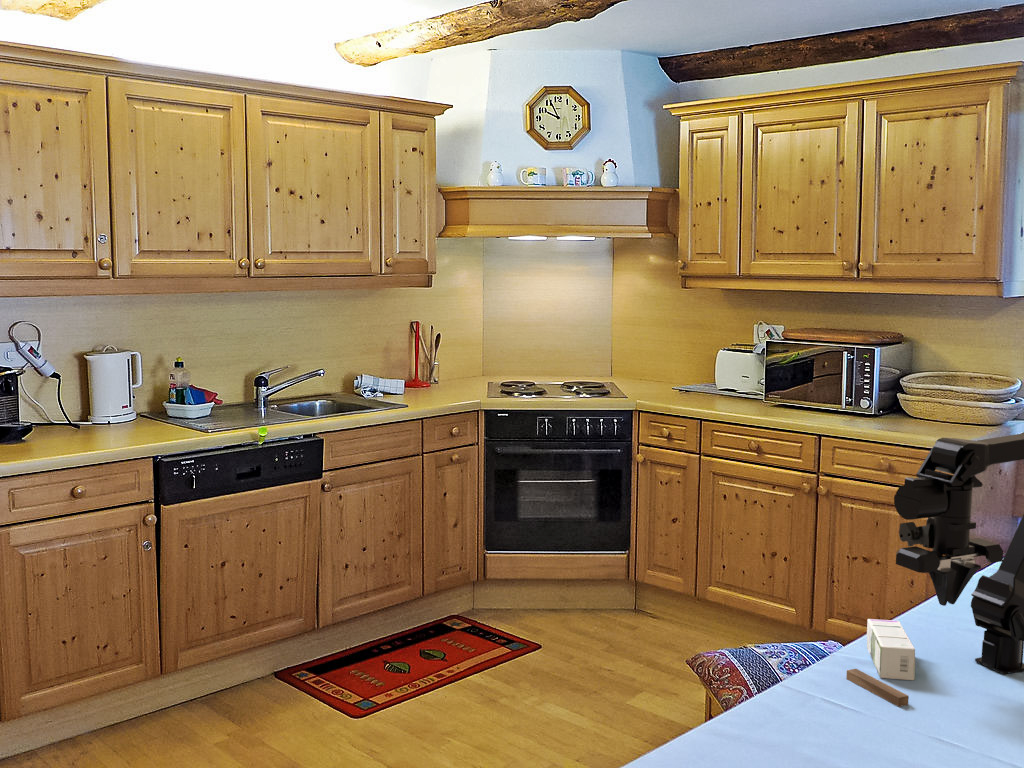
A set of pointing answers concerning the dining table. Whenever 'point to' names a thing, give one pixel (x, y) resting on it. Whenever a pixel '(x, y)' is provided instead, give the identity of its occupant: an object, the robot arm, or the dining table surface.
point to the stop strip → (877, 687)
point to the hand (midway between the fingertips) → (946, 604)
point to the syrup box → (890, 649)
